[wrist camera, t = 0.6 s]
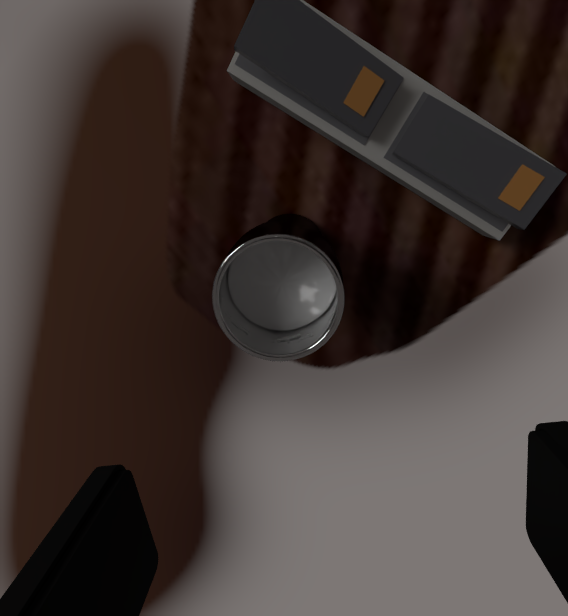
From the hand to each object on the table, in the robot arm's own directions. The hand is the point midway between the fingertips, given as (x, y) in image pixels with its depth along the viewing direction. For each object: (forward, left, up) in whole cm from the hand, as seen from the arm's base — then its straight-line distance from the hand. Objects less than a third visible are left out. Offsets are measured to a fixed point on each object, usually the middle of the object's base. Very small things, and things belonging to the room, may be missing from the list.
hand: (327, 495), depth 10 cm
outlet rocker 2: (-12, +5, -21) cm, 25 cm away
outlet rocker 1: (-12, -7, -21) cm, 26 cm away
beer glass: (0, -2, -27) cm, 27 cm away
